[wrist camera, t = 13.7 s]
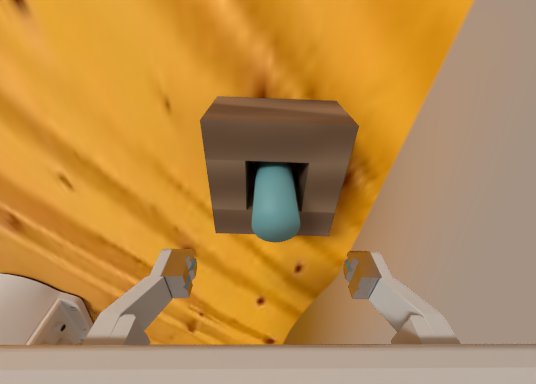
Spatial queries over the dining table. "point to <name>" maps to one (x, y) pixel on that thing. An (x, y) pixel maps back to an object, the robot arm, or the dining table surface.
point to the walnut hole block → (276, 156)
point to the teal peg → (275, 202)
